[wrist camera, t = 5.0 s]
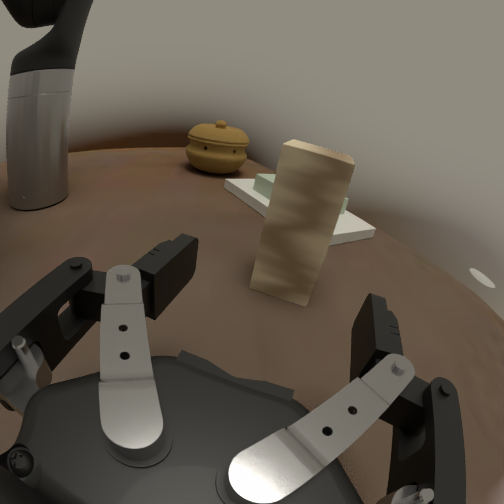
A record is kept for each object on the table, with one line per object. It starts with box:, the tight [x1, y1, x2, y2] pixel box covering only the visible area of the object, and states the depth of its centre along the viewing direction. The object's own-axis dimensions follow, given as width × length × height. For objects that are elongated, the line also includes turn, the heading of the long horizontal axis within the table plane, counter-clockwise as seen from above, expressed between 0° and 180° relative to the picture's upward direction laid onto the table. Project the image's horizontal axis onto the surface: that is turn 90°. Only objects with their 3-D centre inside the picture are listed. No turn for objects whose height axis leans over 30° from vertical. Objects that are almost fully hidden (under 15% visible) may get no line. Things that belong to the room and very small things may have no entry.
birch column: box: [249, 139, 355, 307], centre depth 23 cm, size 5×5×12 cm
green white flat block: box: [224, 174, 376, 246], centre depth 42 cm, size 20×14×4 cm
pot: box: [186, 120, 249, 174], centre depth 52 cm, size 12×12×10 cm
